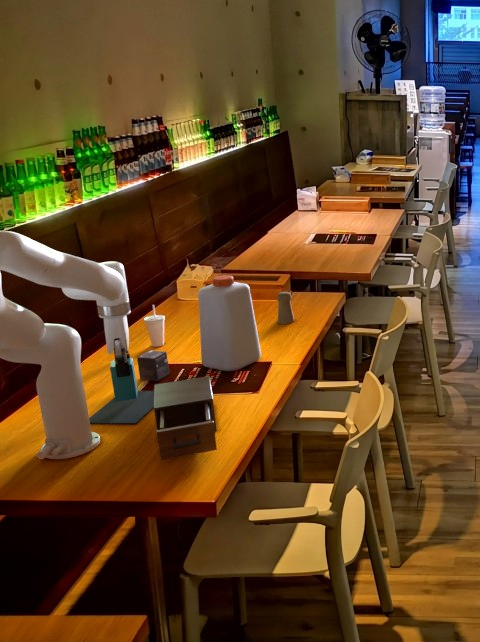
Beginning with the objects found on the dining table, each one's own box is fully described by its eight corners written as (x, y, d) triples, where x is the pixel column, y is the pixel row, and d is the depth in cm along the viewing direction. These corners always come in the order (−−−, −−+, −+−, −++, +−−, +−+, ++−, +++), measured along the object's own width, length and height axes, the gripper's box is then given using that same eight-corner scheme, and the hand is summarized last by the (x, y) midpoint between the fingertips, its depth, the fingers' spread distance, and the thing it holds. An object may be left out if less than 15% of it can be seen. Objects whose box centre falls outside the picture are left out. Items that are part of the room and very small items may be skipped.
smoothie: (171, 341, 249) (166, 302, 245) (163, 348, 243) (158, 308, 239) (152, 341, 248) (147, 302, 245) (144, 348, 242) (138, 308, 239)
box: (157, 381, 216) (154, 358, 214) (139, 380, 217) (136, 357, 215) (170, 373, 222) (167, 351, 220) (152, 372, 223) (149, 349, 221)
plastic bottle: (267, 357, 234) (259, 274, 226) (232, 374, 221) (222, 286, 213) (231, 350, 240) (222, 268, 233) (196, 366, 227) (185, 280, 219)
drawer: (217, 457, 171) (214, 429, 169) (160, 469, 166) (156, 440, 164) (213, 424, 187) (210, 398, 185) (160, 433, 183) (157, 407, 181)
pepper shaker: (274, 322, 267) (271, 294, 264) (283, 317, 272) (281, 289, 270) (288, 324, 265) (286, 295, 262) (297, 319, 271) (295, 291, 268)
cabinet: (216, 431, 186) (212, 398, 183) (158, 441, 180) (153, 408, 178) (213, 406, 199) (209, 376, 197) (159, 415, 194) (154, 384, 192)
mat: (136, 424, 189) (136, 423, 189) (83, 424, 190) (83, 422, 189) (171, 392, 209) (171, 390, 208) (123, 392, 209) (122, 390, 209)
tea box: (136, 398, 197) (131, 364, 194) (115, 401, 195) (109, 367, 192) (137, 391, 201) (132, 357, 199) (116, 394, 199) (111, 360, 197)
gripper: (100, 301, 197) (111, 363, 202) (95, 320, 182) (106, 386, 187) (131, 298, 200) (140, 359, 205) (128, 316, 185) (138, 381, 190)
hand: (124, 371), depth 196 cm, fingers closed on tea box, 5 cm apart
